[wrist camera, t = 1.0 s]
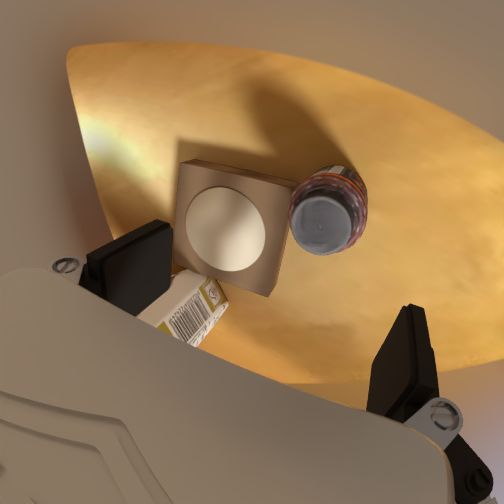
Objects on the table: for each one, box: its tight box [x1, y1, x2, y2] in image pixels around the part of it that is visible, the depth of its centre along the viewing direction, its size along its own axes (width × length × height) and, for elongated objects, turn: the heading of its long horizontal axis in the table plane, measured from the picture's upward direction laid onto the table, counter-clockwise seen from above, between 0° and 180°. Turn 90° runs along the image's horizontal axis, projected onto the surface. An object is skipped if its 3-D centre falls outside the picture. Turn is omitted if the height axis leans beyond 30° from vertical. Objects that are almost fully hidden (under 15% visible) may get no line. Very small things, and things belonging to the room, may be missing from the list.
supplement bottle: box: [287, 165, 368, 255], centre depth 24 cm, size 6×6×11 cm
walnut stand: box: [173, 159, 299, 297], centre depth 32 cm, size 12×12×3 cm
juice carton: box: [136, 269, 229, 347], centre depth 31 cm, size 8×9×19 cm
